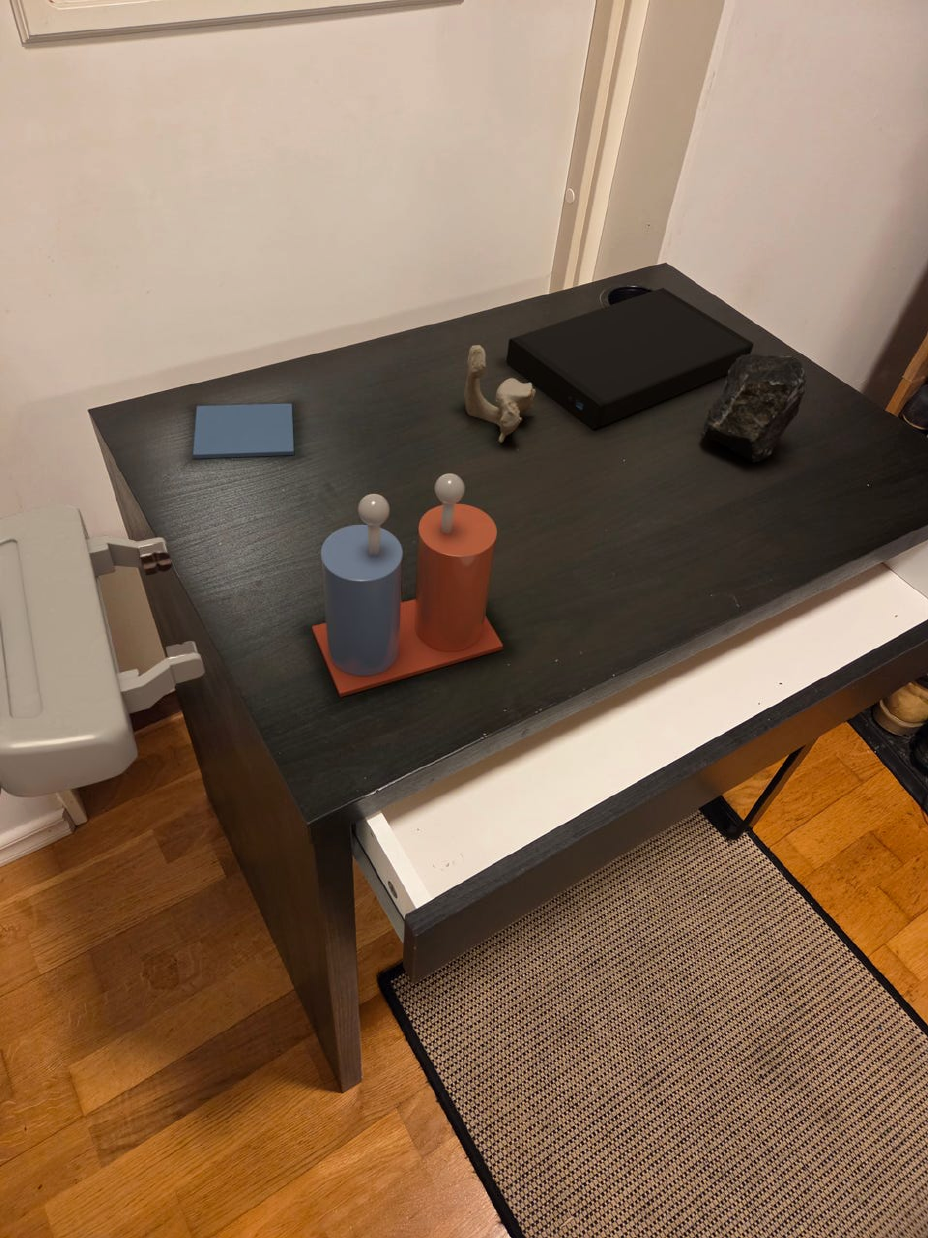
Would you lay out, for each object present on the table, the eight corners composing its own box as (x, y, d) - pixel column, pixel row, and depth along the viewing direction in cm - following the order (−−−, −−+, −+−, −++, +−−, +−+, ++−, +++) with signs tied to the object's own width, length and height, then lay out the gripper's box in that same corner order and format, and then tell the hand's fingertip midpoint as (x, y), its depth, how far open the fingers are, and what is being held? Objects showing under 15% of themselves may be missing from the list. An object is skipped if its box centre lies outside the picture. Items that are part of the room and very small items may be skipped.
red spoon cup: (418, 654, 64) (426, 505, 53) (410, 601, 67) (416, 451, 56) (489, 649, 65) (511, 501, 54) (477, 597, 68) (496, 448, 57)
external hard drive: (745, 367, 96) (754, 343, 93) (593, 431, 85) (599, 405, 83) (655, 310, 103) (661, 286, 100) (505, 362, 92) (508, 337, 90)
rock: (786, 445, 86) (824, 356, 79) (759, 480, 82) (797, 390, 75) (714, 415, 89) (745, 326, 81) (685, 447, 85) (715, 357, 77)
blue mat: (193, 458, 78) (192, 454, 77) (197, 410, 83) (196, 405, 82) (294, 455, 79) (293, 450, 79) (291, 407, 84) (291, 403, 84)
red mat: (339, 697, 61) (339, 693, 61) (312, 630, 65) (311, 626, 65) (502, 649, 65) (503, 645, 65) (466, 589, 69) (467, 584, 69)
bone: (566, 425, 83) (529, 354, 75) (514, 468, 83) (472, 401, 75) (521, 384, 88) (482, 313, 80) (473, 424, 88) (429, 357, 81)
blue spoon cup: (329, 679, 62) (318, 529, 51) (325, 623, 65) (314, 472, 54) (403, 673, 63) (409, 525, 52) (395, 618, 66) (399, 468, 55)
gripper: (-50, 577, 57) (161, 532, 62) (-30, 837, 45) (229, 758, 50) (-88, 506, 53) (143, 462, 57) (-77, 775, 41) (214, 693, 45)
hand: (184, 602), depth 53 cm, fingers open, 8 cm apart
